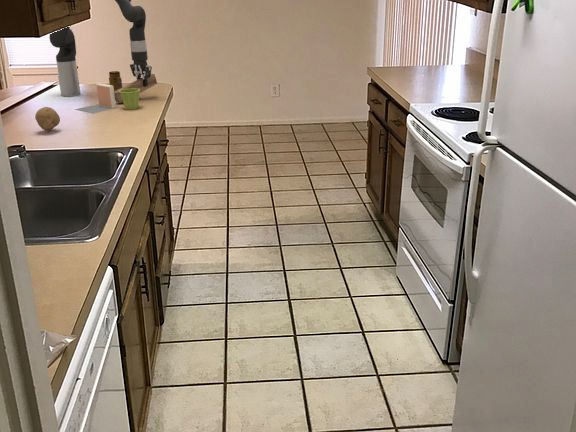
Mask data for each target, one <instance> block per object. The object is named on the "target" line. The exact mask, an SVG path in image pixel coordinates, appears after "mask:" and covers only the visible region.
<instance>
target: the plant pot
mask: <svg viewBox="0 0 576 432" xmlns="http://www.w3.org/2000/svg"><path fill="white" fill-rule="evenodd" d="M139 91H140V89H134V88H132V89H123V90H120V91H119V92H120V94H121V96H122V100H123V102H122V103H123V107H124V109H125V110H137V109H138V108H139V105H140V103H139V101H140V100H139V99H140V97H139V95H140V93H139ZM136 108H137V109H136Z"/></svg>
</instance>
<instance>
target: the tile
mask: <svg viewBox="0 0 576 432" xmlns="http://www.w3.org/2000/svg"><path fill="white" fill-rule="evenodd" d="M95 86H96V92H97V101H98V104H99V106H104V107H109V108H115V109H117V108H116V101H115V96H114V88H113V86H111V85H110V84H106V83H105V84H104V83H96V84H95Z"/></svg>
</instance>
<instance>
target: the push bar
mask: <svg viewBox="0 0 576 432" xmlns="http://www.w3.org/2000/svg"><path fill="white" fill-rule="evenodd" d="M147 80H148V86H147V87H144V86H143V78H142V77H140V79H138V80H137V79H135V81H132V82H130V83H129V84H127V85H124V86H122V88H121V89H119V90H117V91H115V92H114V96H115V103H118V104H122V103H123V100H122V96H121V94H120V92H119V91H120V90H123V89H132V88H134V89H140V91H139V94H140V93H143V92H144V91H147V90H148V89H150V88H152V87H154V86H155V85H157V84H158V81H157V78H156V74H155V73H151V76H150V78H148V79H147Z"/></svg>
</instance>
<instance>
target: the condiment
mask: <svg viewBox="0 0 576 432" xmlns="http://www.w3.org/2000/svg"><path fill="white" fill-rule="evenodd" d="M108 75H109V77H108V81H109V85H111V86H113V88H114V92H115V91H117V90H119V89H121V88H122V87H123V83H122V82H123V81H122V77H121V72H120V71H118V70H114V71H113V70H112V71H109V73H108Z"/></svg>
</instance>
